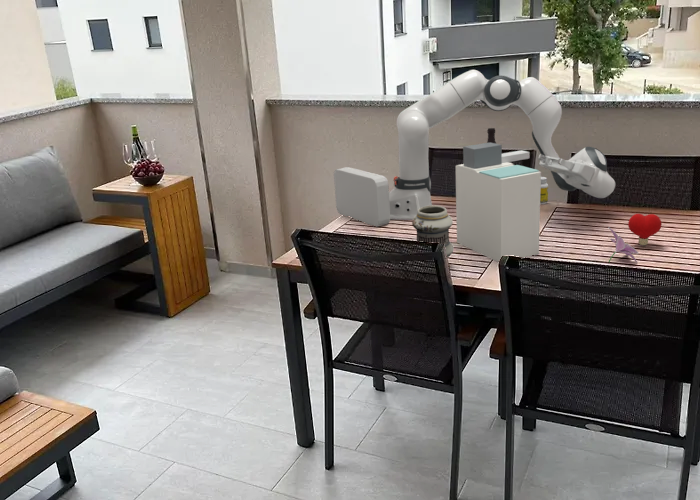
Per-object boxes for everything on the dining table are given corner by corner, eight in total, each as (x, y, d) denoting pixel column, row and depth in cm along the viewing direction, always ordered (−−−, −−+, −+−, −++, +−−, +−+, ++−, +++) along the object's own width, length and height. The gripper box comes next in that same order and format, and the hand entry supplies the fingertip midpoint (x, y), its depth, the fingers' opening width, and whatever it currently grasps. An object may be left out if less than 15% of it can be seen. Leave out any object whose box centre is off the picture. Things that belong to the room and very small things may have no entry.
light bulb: (658, 242, 205) (661, 211, 202) (660, 250, 199) (663, 218, 195) (626, 241, 208) (628, 210, 205) (627, 248, 202) (629, 217, 198)
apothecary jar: (419, 276, 192) (417, 216, 186) (409, 262, 204) (406, 206, 198) (459, 271, 194) (458, 212, 188) (446, 257, 205) (445, 201, 199)
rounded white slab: (395, 223, 243) (393, 175, 237) (378, 228, 239) (376, 179, 233) (352, 209, 266) (349, 164, 260) (336, 213, 262) (333, 168, 256)
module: (519, 156, 215) (519, 137, 213) (531, 158, 210) (531, 140, 208) (463, 165, 208) (463, 146, 206) (474, 168, 202) (474, 149, 200)
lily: (636, 275, 185) (651, 243, 184) (595, 257, 187) (610, 226, 186) (628, 272, 197) (643, 243, 195) (590, 255, 199) (604, 226, 198)
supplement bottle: (532, 204, 254) (532, 179, 251) (534, 200, 259) (534, 176, 256) (547, 204, 252) (547, 179, 249) (548, 201, 257) (549, 176, 254)
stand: (492, 234, 223) (492, 158, 215) (538, 254, 203) (541, 170, 194) (456, 242, 218) (455, 164, 210) (500, 263, 197) (501, 178, 189)
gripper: (560, 160, 232) (533, 145, 226) (603, 169, 214) (575, 154, 208) (552, 177, 233) (525, 162, 226) (595, 187, 215) (567, 172, 208)
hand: (549, 158), depth 217 cm, fingers open, 8 cm apart
